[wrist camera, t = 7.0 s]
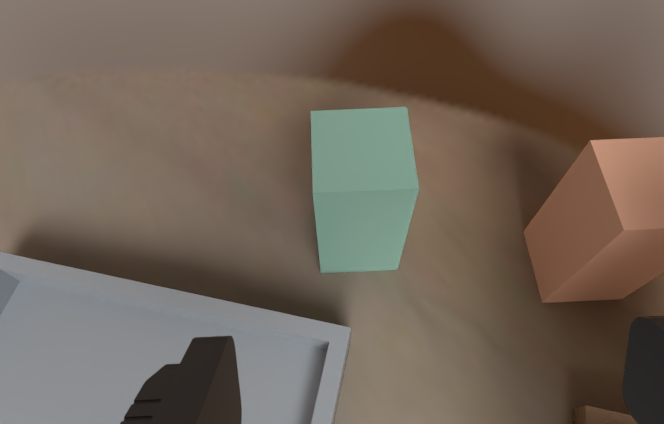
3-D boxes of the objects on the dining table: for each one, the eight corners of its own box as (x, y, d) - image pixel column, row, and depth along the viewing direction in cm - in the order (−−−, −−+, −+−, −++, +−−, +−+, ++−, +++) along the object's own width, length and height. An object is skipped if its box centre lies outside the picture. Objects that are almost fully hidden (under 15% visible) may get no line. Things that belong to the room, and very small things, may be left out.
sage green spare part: (320, 273, 31) (312, 193, 23) (318, 206, 34) (310, 111, 25) (397, 269, 31) (419, 188, 23) (389, 203, 34) (406, 106, 25)
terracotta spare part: (542, 302, 30) (624, 230, 21) (523, 231, 33) (590, 140, 24) (621, 299, 30) (736, 225, 21) (597, 228, 33) (690, 135, 24)
